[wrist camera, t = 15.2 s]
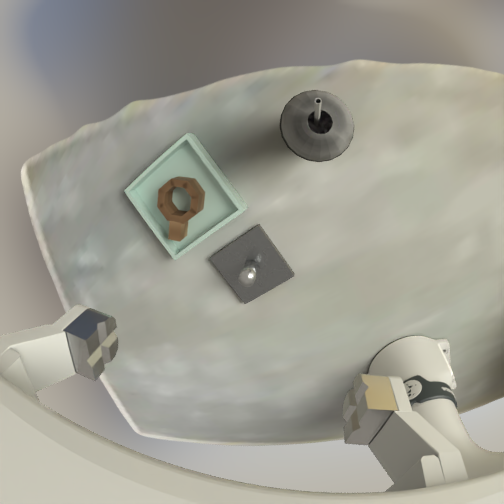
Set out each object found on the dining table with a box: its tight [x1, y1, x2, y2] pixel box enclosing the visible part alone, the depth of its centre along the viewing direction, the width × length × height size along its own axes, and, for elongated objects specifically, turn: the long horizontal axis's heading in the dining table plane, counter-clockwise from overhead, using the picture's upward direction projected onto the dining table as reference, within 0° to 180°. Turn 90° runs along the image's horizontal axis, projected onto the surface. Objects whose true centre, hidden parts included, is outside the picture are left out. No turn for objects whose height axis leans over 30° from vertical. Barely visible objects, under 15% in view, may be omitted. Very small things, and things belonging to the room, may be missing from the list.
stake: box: [210, 224, 294, 304], centre depth 43 cm, size 9×9×5 cm
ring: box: [157, 176, 205, 242], centre depth 42 cm, size 9×6×3 cm
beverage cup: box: [280, 90, 354, 162], centre depth 28 cm, size 7×7×20 cm
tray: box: [124, 133, 248, 260], centre depth 42 cm, size 13×13×2 cm
